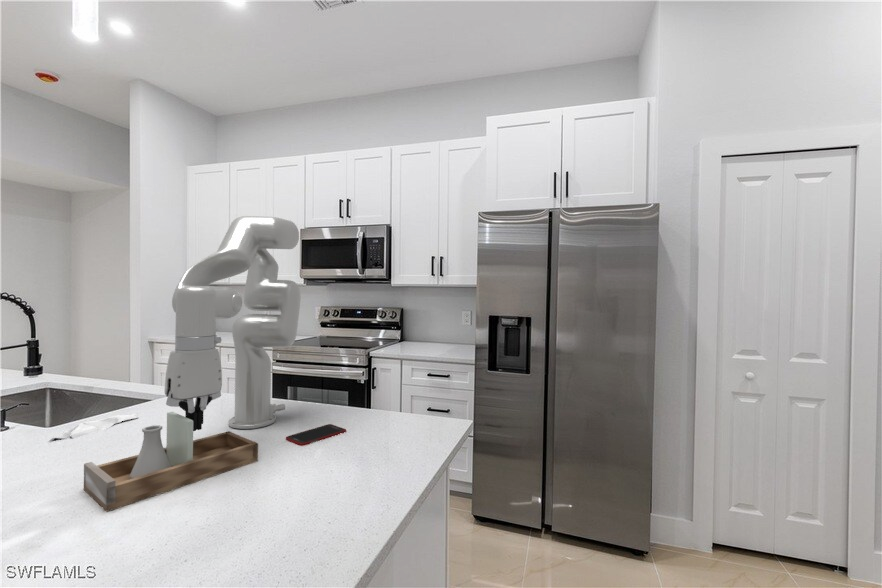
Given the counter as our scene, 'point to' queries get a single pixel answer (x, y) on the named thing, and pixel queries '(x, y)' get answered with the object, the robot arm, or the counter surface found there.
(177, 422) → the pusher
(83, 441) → the counter surface
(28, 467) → the counter surface
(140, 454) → the flask
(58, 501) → the counter surface
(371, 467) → the counter surface
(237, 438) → the wooden rimmed tray
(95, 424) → the cloth
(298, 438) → the cell phone
